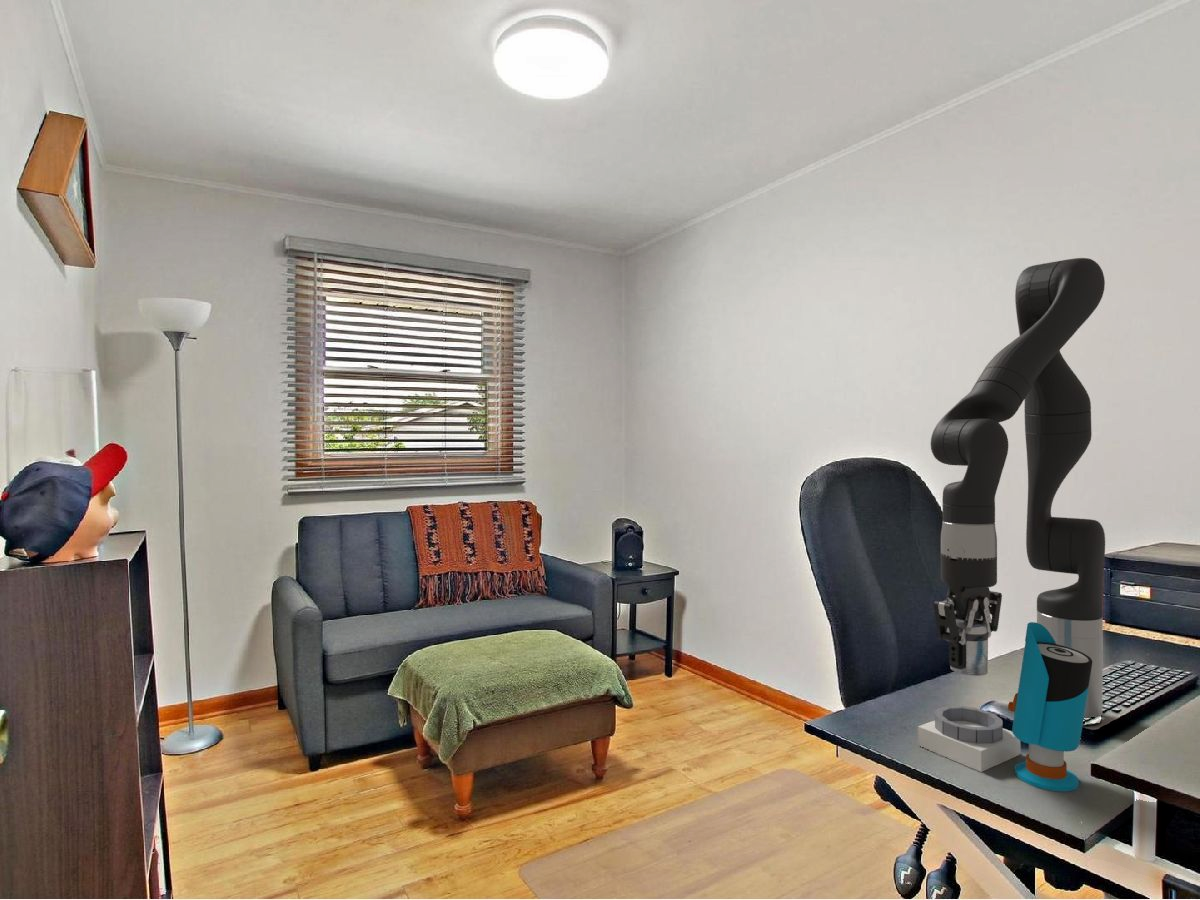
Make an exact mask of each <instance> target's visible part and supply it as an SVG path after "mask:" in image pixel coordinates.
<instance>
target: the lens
mask: <svg viewBox="0 0 1200 900" xmlns="http://www.w3.org/2000/svg"><path fill="white" fill-rule="evenodd" d="M956 621H958V622H964V621H963V620H959V619H956ZM957 631H958V635H959V633H960V627H957ZM988 643H989V638H988V625H987V624H983V623H981V622H979V621H975V620H973V625H972V629H971V630H968V632H967V637H966V642H965V644H966V668H965V669H957V668H954V667H951V666H950V665H949V666H950V670H952V671H953V672H955V673H958V674H960V675H961V674H962V675H966V676H972V677H973V676H975V677H976V676H979V677H980V676H985V675H988V673H989V664H988V663H989V659H988V658H989V644H988Z"/></svg>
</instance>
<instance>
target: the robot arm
mask: <svg viewBox="0 0 1200 900" xmlns="http://www.w3.org/2000/svg"><path fill="white" fill-rule="evenodd" d="M1105 283H1106V282H1105V275H1104V272H1103V269H1102V268H1101V266H1100V264H1099V263H1098V262H1097V261H1095V260H1093V259H1092V258H1088V257H1087V258H1085V257H1076V258H1069V259H1063V260H1058V261H1051V262H1046V263H1041V264H1040V263H1039V264H1034V265H1031V266H1028V267H1026V268H1024V269H1023V270H1022V271H1021V273H1020V274H1019V276H1018V279H1017V281H1016V285H1015V294H1014V297H1015V298H1014V299H1015V300H1014V301H1015V310H1016V311H1015V312H1016V319H1017V325H1018V333H1019V336H1018V337H1016V338H1014V340H1013V341H1011V342H1010V343H1009V344H1008V343H1007V345H1006V346H1005V347H1003V348H1002V349H1001V350H1000V351H999V352H997V353H996V355H994V356H993V358H991V360H990V361H989V362H987V365H986V366H985V367H984V369H983V371H982V372H981V374H980V375H979V377H978V378H977V380H976V382H975V383H974V385H973V387H972V388H971V390H970V391H969V392H968V393H967V394H966V395H964V397H962V398H961V399H960V400H959V401H958V402H957V403H956V404H955V405H954V406H953V407H952V408H950V410H948V411H947V412H946V413H945V415H943V416H942V418H940V420H939V422H937V424H936V425H935V427H934V429H933V432H932V434H931V437H930V449H931V453H932V455H933V457H934V458H935V460H937V462H940V463H941V464H944V465H947V466H958V467H959V466H962V467H966V466H967V467H966V470H965V474H964V475H963V476H964V477H963V478H962V480H958V481H954V482H953V481H952V482H950V483H947V484H946V485H944V487H943V491H942V501H941V502H942V525H941V531H940V579H941V582H943V583H945V584H946V585H947V586H948V588H947V592H946V593H947V594H946V598H945V599H944V600H942V601H939V600H935V601H934V602H933V610H934V617H935V623H936V629H937V635H938V636H937V637H938V639H940V640H944V641H946V642H948V662H949V666H951V667H954V668H957V669H965V668H966V644H965V642H966V637H967V632H968V630H971V629H972V625H973V620H975V621H979V622H981V623H983V624H987V625H988V639H990V638H991V636H992V632H998V629H999V623H1000V622H999V621H1000V616H1001V615H1000V614H1001V609H1002V607H1001V606H1002V601H1003V599H1002V598H1003V594H1002V593H1001V592H998V591H993V590H990V588H992V587H994V586H996V585H997V583H998V537H997V529H996V496H997V495H996V493H997V490H998V487H999V485H1000V481H1001V477H1002V474H1003V470H1004V467H1005V464H1006V460H1007V458H1008V457H1007V456H1008V453H1009V439H1008V435H1007V432H1006V430H1005V428H1004V427H1003V426H1002V425H1001V423H1002V422H1005V421H1007V420H1010V419H1011V418H1013V417H1014V416H1015V415H1016V413H1017V412H1018V411H1019V409H1020V407H1021V405H1022V404H1023V402H1024V432H1025V446H1026V447H1025V448H1026V464H1027V465H1026V467H1027V506H1026V533H1025V535H1026V536H1025V539H1026V540H1025V544H1026V545H1025V546H1026V547H1025V548H1026V554H1027V556H1026V557H1027V560H1028V562H1029V564H1030V566H1031V567H1032V568H1033V569H1035V570H1038V571H1039V570H1040V571H1045V572H1054V573H1063V574H1071V575H1072V574H1073V575H1077V576H1078V579H1077V581H1076V582H1075V583H1073V584H1071V585H1069V586H1066V587H1061V588H1057V589H1049V590H1046V591H1043V592H1040V593H1039V594H1038V595H1037V598H1036V623H1039V624H1041V625H1043V626H1044V627H1045V628H1046V629H1047V630H1048V631H1049V632H1050V634H1051V635H1052V637H1053V639H1054V640H1055V642H1056V644H1057V645H1062V646H1066V647H1069V648H1072V649H1075V650H1077V651H1080V652H1082V653H1084V654H1086V655H1087V656H1089V657H1090V658H1091V659H1092V668H1091V675H1090V681H1089V690H1088V696H1087V702H1086V708H1085V714H1084V718H1091V717H1098V716H1101V715H1102V716H1103V673H1104V671H1103V668H1104V667H1103V666H1104V665H1103V660H1104V659H1103V652H1104V651H1103V647H1104V646H1103V637H1104V635H1103V633H1104V632H1103V625H1104V624H1103V622H1104V621H1103V620H1104V619H1103V616H1104V615H1103V608H1104V607H1103V603H1104V602H1103V601H1104V600H1103V593H1104V591H1103V590H1104V588H1103V587H1104V567H1105V557H1106V556H1105V555H1106V535H1105V529H1104V527H1103V525H1102V524H1101V523H1100V522H1099V521H1098V520H1097V519H1090V518H1079V517H1078V518H1074V517H1062V516H1061V517H1059V516H1052V512H1051V511H1052V506H1053V502H1054V499H1055V496H1056V494H1057V492H1058V490H1059V488H1060V487H1061V485H1062V483H1064V480H1065V479H1066V477H1068V475H1069V473H1070V472H1071V471H1072V470H1073V468H1074V467H1075V466H1076V465H1077V463H1078V462H1079V461H1080V459H1081V458H1082V456H1083V455H1084V454H1085V453H1086V450H1088V447H1089V446H1090V443H1091V441H1092V405H1091V398H1090V396H1089V394H1088V391H1087V390H1086V388H1085V385H1083V383H1082V382H1081V380H1080V379H1079V378H1078V376H1077V375H1076V373H1075V372H1074V371H1073V370H1072V368H1071V366H1069V364H1068V363H1067V361H1066V360H1065V358H1064V356H1063V355H1062V352H1061V350H1062V348H1063V347H1064V346H1065V345H1066V343H1067V342H1068V341H1069V340H1070V339H1072V337H1073V336H1074V335H1075V333H1077V331H1078V330H1079V329H1080V328H1081V327H1082V326H1083V324H1084V323H1086V321H1087V320H1088V319H1089V318H1090V316H1091V315H1092V314H1093V313H1094V312H1095V311H1096V309H1097V308H1098V306H1099V304H1100V303H1101V301H1102V299H1103V296H1104V292H1105ZM956 620H963V621H964V622H958V621H956ZM957 627H960V633H959V635H958V631H957Z"/></svg>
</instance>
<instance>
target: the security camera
mask: <svg viewBox="0 0 1200 900" xmlns="http://www.w3.org/2000/svg"><path fill="white" fill-rule="evenodd" d="M1026 625H1027V626H1026V632H1025V638H1024V641H1025V643H1024V649H1023V655H1022V663H1021V670H1020V676H1019V683H1018V689H1017V693H1015V695H1014V697H1013V701H1009V702H1008V704H1007V710H1009V711H1011V712H1014V715H1013V722H1012V728H1011V731H1012V732H1013V734H1014V736H1015V737H1016V738H1018V739H1019V740H1020V742H1022V743H1024V744H1028V753H1027V754H1026V756H1025V761H1021V762H1018V763H1016V764H1015V766H1014V774H1015V775H1016V777H1017V778H1018V779H1020V780H1021V781H1022V782H1024V783H1026V784H1028V785H1031V786H1032V787H1036V788H1040V789H1043V790H1049V791H1053V792H1070V791H1074V790H1076V789H1078V787H1079V783H1080V782H1079V778H1078V776H1077V775H1076V774H1075V773H1074V772H1072V771H1071V770H1068V769H1067V765H1068V764H1067V762H1066V760H1065V758H1064V757H1065V753H1066V752H1072V751H1074V752H1075V751H1076V750H1077V749H1078V748H1079V745H1080V742H1081V737H1082V732H1083V726H1084V725H1083V720H1084V714H1085V708H1086V702H1087V696H1088V690H1089V681H1090V675H1091V668H1092V659H1091V658H1090V657H1089V656H1087V655H1086V654H1084V653H1082V652H1080V651H1077V650H1075V649H1072V648H1069V647H1066V646H1062V645H1057V644H1056V642H1055V640H1054V639H1053V637H1052V635H1051V634H1050V632H1049V631H1048V630H1047V629H1046V628H1045V627H1044V626H1043V625H1041V624H1039V623H1037V622H1036V621H1035V622H1032V621H1030V622H1028V623H1027V624H1026Z"/></svg>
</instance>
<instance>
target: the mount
mask: <svg viewBox="0 0 1200 900" xmlns="http://www.w3.org/2000/svg"><path fill="white" fill-rule="evenodd" d="M1003 726H1004V725H1003V719H1002V718H1001V717H1000V716H998V715H997V714H995V713H993V712H991V711H989V710H984V709H982V708H977V707H974V706H973V707H972V706H965V705H945V706H942V707H939V708H936V710H935V711H934V720H932V721H929V722H927V723H924V724H921V725H918V726H917V746H918V745H919V746H918V747H920V746H921V747H920V748H922V747H924V748H923V749H925V748H926V749H925V750H927V749H929V750H928V751H929V752H932V751H933V753H934V752H935V753H934V754H936V755H939V756H942V757H945V758H946V757H947V759H949V760H951V761H954V762H956V763H958V764H961V765H963V766H966V767H969V768H971V769H973V770H976V771H978V772H980V773H982V772H985V771H986V770H989V769H991V768H994V767H996V766H997V765H1000V764H1002V763H1005V762H1007V761H1009V760H1011V759H1013V758H1015V757H1018V756H1020V755H1021V741H1020V740H1019V739H1018V738H1016V737H1015V736H1014V734H1013V732H1012V730H1008V729H1007V728H1003Z"/></svg>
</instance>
